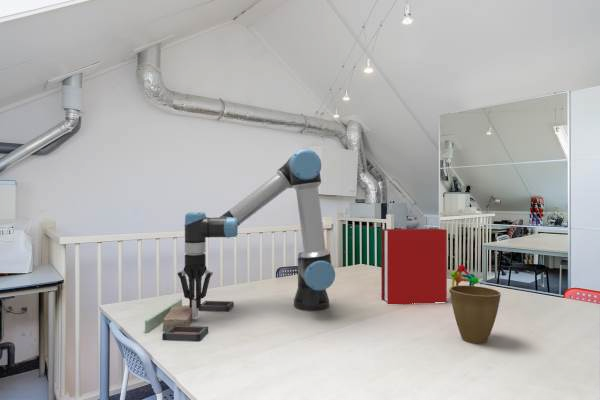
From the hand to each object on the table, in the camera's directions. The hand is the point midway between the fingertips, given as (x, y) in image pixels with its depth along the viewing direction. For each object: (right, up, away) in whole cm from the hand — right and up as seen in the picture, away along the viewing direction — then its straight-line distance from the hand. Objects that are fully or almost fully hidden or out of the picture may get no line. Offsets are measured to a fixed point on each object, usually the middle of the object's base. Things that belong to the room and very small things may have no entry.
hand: (195, 316), depth 141 cm
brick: (-5, -2, -3) cm, 6 cm away
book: (+90, -2, +27) cm, 94 cm away
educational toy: (+116, -2, +37) cm, 122 cm away
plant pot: (+96, -2, -19) cm, 98 cm away
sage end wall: (-12, -1, +1) cm, 12 cm away
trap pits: (+3, -1, 0) cm, 3 cm away
